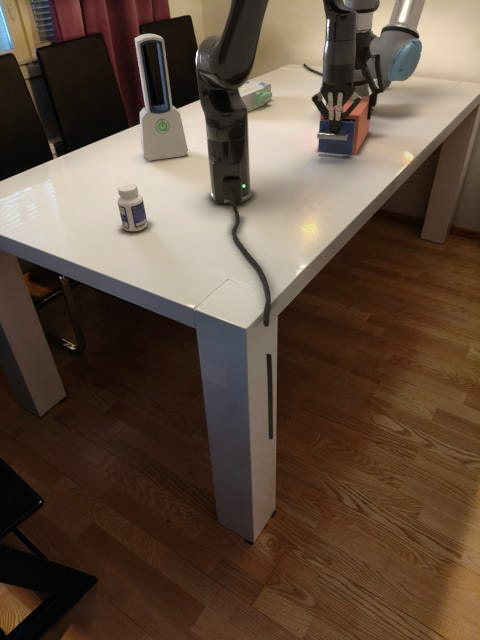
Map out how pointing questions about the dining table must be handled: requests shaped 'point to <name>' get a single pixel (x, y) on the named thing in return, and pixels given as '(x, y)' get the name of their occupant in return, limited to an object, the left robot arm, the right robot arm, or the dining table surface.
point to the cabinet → (357, 121)
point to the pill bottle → (131, 208)
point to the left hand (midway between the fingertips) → (334, 134)
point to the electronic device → (159, 110)
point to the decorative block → (255, 94)
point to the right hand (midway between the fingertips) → (349, 117)
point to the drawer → (336, 137)
